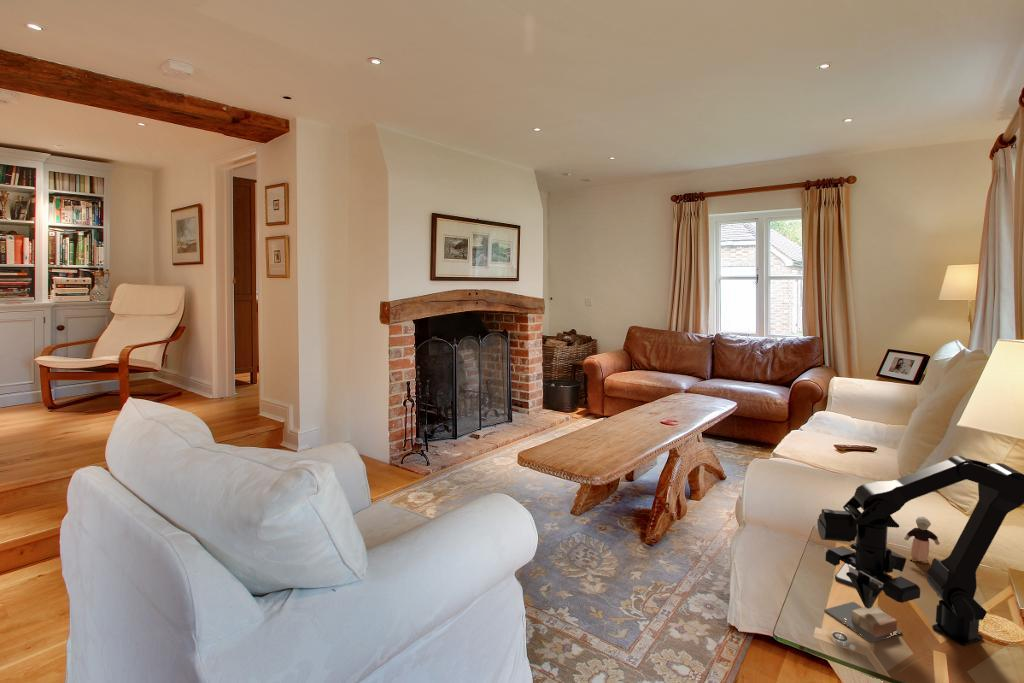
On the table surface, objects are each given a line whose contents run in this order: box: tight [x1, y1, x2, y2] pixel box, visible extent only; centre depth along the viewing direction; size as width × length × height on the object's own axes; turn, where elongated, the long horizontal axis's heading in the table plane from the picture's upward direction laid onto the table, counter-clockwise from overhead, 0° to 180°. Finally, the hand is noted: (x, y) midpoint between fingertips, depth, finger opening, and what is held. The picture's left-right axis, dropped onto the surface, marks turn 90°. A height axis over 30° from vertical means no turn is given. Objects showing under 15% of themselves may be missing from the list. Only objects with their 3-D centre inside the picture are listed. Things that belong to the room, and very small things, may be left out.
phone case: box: [834, 562, 854, 587], centre depth 142 cm, size 9×2×16 cm
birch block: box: [852, 605, 898, 637], centre depth 121 cm, size 3×6×6 cm
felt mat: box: [823, 601, 903, 644], centre depth 123 cm, size 12×9×1 cm
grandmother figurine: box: [903, 516, 941, 565], centre depth 147 cm, size 8×4×13 cm, turn 73°
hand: (868, 607), depth 122 cm, fingers closed
